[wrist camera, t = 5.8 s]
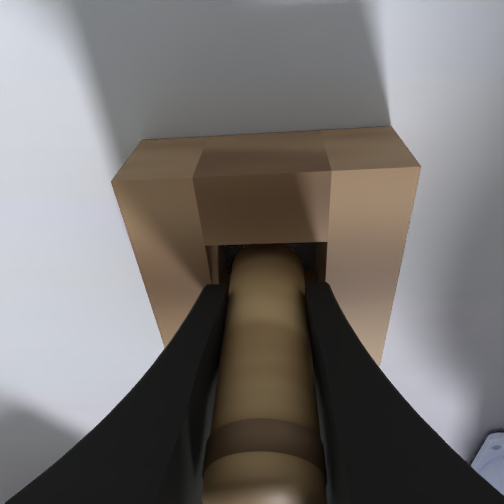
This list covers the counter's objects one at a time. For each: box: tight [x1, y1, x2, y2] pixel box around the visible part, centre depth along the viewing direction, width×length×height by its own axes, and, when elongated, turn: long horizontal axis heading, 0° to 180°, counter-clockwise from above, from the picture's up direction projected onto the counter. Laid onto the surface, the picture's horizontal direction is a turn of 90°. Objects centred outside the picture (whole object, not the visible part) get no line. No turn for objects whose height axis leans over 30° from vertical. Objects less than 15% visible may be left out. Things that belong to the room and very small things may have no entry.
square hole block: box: [111, 126, 421, 366], centre depth 13 cm, size 8×8×3 cm
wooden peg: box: [201, 243, 328, 504], centre depth 10 cm, size 2×2×7 cm
